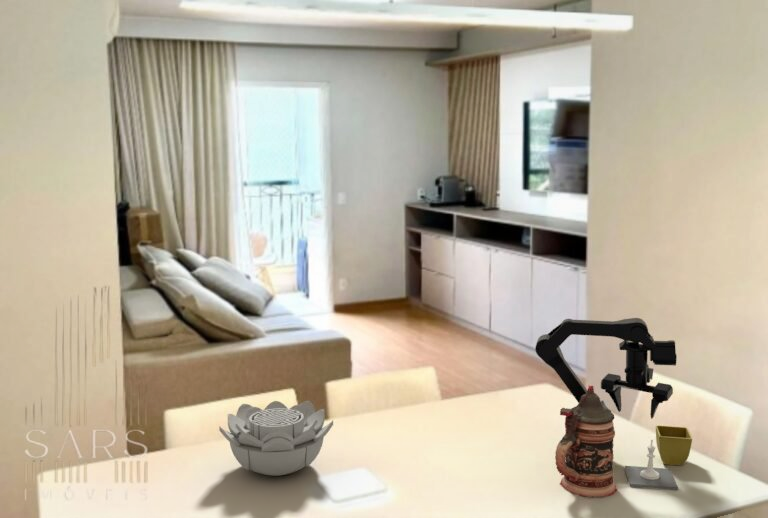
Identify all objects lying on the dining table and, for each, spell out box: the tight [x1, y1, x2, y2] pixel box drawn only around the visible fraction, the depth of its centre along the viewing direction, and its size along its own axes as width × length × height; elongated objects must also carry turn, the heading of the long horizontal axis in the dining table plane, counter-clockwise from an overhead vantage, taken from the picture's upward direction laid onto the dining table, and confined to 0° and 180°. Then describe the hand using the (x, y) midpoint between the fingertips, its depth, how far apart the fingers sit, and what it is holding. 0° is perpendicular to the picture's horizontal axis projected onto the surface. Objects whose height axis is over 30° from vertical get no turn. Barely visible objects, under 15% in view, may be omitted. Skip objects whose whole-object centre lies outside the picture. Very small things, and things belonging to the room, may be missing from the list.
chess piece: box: [640, 439, 659, 480], centre depth 214 cm, size 5×5×10 cm
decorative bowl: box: [218, 400, 334, 476], centre depth 221 cm, size 30×30×15 cm
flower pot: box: [655, 425, 693, 466], centre depth 225 cm, size 9×9×9 cm
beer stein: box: [554, 385, 618, 498], centre depth 209 cm, size 17×28×18 cm
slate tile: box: [624, 465, 679, 491], centre depth 215 cm, size 12×12×1 cm
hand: (635, 414), depth 228 cm, fingers open, 9 cm apart
